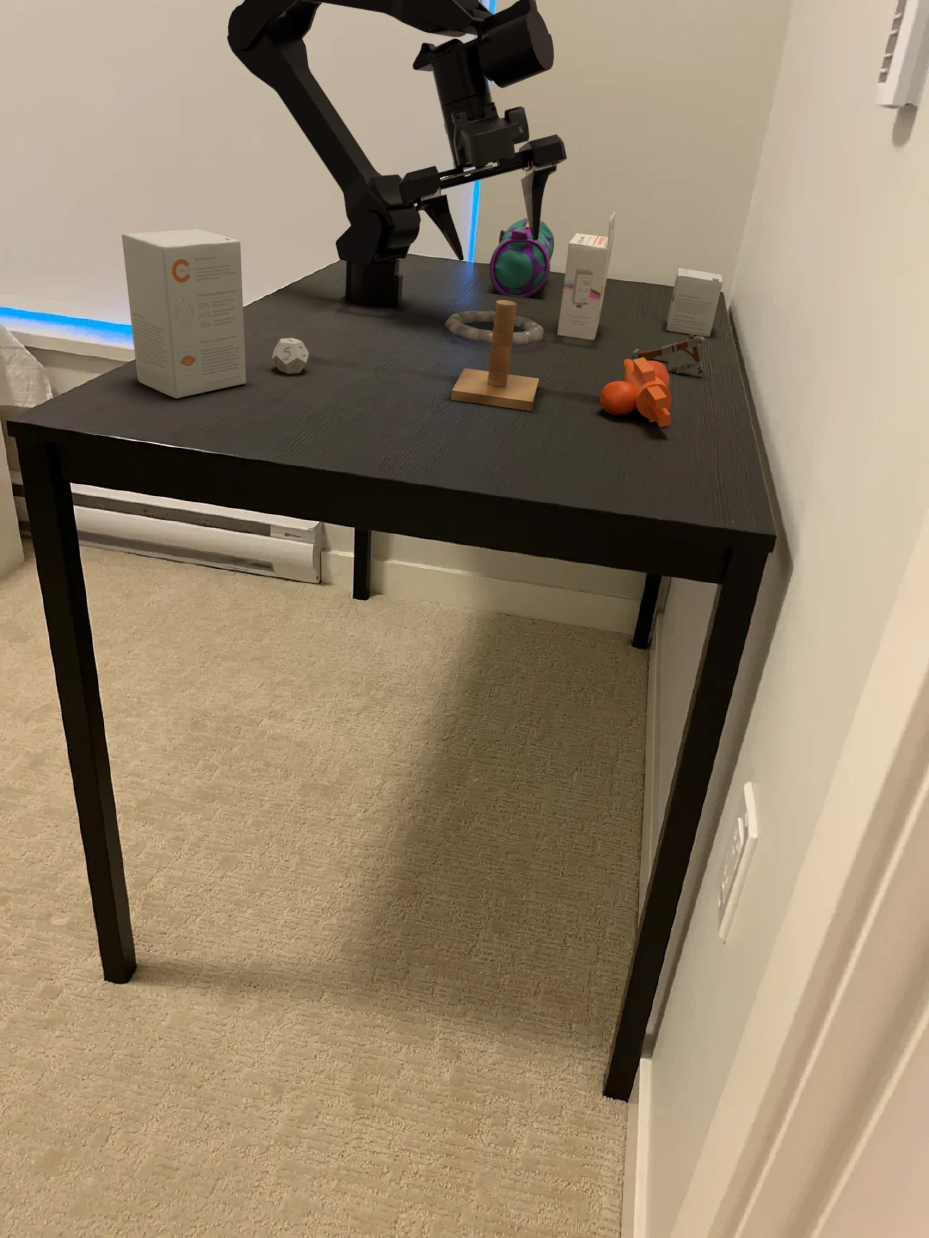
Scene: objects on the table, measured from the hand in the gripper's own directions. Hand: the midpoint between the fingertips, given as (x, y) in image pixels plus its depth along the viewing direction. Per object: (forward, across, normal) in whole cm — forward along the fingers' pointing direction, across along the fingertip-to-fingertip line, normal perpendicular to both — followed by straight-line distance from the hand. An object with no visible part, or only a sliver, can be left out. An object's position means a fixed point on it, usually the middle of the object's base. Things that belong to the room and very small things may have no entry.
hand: (498, 250), depth 104 cm
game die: (+6, -27, -14) cm, 31 cm away
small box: (+5, -37, -19) cm, 42 cm away
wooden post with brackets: (+18, +14, -8) cm, 24 cm away
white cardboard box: (+16, +27, +12) cm, 33 cm away
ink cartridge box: (+13, +8, +5) cm, 16 cm away
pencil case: (+6, +9, +31) cm, 33 cm away
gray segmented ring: (+9, -2, +2) cm, 9 cm away
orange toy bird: (+19, +4, -24) cm, 31 cm away
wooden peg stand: (+14, -8, -19) cm, 25 cm away
